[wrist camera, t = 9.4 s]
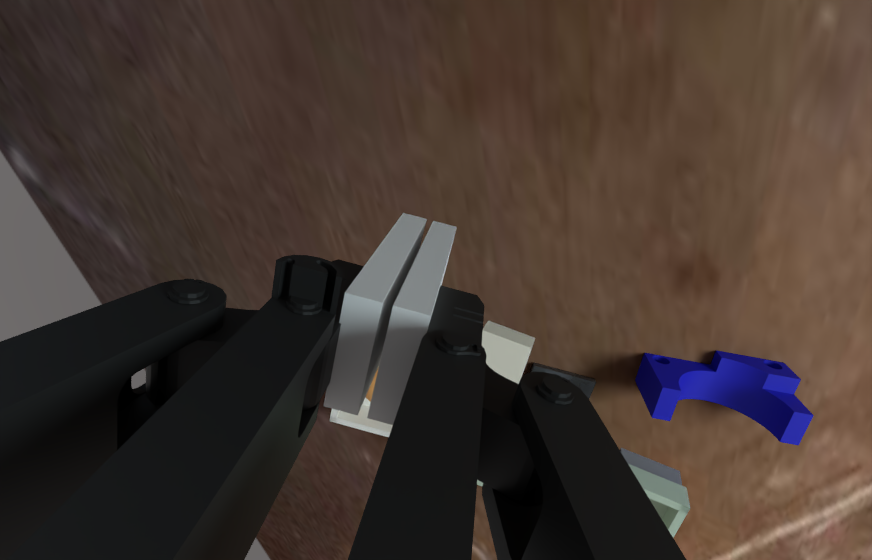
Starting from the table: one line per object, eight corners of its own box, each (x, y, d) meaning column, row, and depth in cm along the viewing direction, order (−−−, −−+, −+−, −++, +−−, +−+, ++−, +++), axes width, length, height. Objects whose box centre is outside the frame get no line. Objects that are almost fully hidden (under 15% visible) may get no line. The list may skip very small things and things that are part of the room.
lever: (446, 430, 50) (429, 463, 46) (485, 303, 45) (470, 325, 40) (653, 518, 46) (657, 564, 41) (723, 389, 41) (737, 425, 36)
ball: (400, 400, 51) (371, 384, 52) (408, 370, 50) (377, 355, 51) (382, 417, 48) (351, 400, 49) (390, 386, 47) (358, 370, 48)
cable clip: (782, 361, 46) (821, 399, 41) (763, 403, 48) (798, 445, 43) (648, 337, 47) (668, 371, 42) (634, 379, 49) (651, 417, 43)
